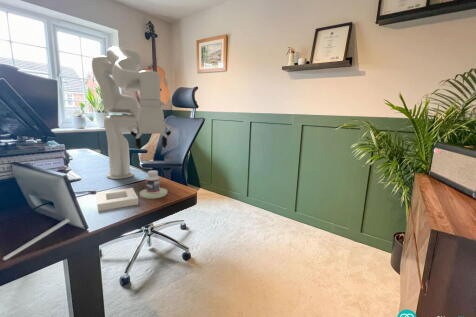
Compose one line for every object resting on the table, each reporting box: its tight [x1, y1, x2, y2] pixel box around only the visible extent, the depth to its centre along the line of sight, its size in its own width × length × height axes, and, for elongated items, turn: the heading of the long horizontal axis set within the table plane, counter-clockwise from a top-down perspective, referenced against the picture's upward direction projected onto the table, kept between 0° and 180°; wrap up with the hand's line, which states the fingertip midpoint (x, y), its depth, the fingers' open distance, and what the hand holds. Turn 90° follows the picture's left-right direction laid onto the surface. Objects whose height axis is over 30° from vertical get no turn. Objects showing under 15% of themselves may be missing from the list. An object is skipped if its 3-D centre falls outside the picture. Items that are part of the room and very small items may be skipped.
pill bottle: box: [145, 169, 161, 194], centre depth 96 cm, size 5×5×9 cm
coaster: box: [139, 187, 168, 200], centre depth 97 cm, size 11×11×1 cm
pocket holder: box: [96, 187, 139, 212], centre depth 88 cm, size 13×13×2 cm
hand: (151, 147), depth 93 cm, fingers open, 9 cm apart
